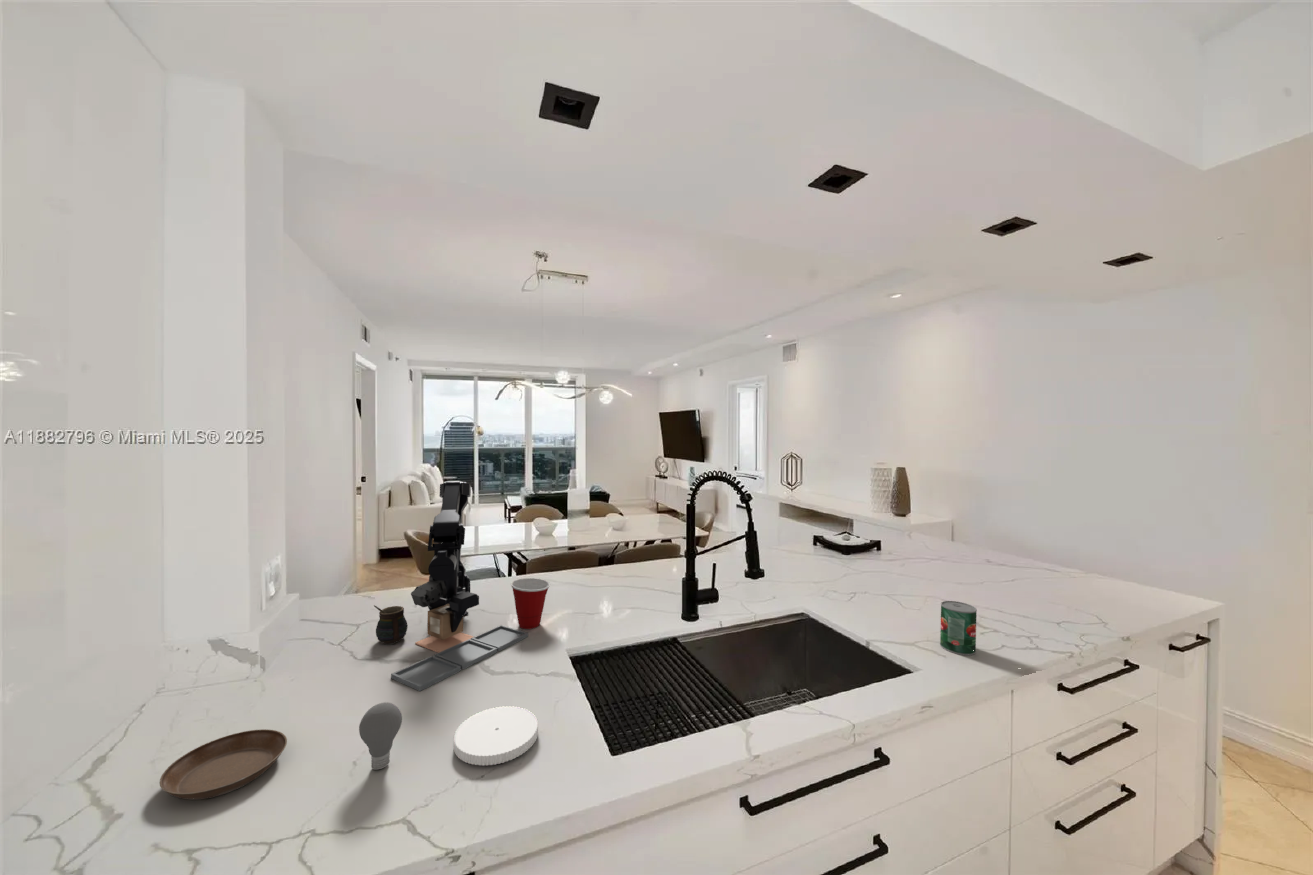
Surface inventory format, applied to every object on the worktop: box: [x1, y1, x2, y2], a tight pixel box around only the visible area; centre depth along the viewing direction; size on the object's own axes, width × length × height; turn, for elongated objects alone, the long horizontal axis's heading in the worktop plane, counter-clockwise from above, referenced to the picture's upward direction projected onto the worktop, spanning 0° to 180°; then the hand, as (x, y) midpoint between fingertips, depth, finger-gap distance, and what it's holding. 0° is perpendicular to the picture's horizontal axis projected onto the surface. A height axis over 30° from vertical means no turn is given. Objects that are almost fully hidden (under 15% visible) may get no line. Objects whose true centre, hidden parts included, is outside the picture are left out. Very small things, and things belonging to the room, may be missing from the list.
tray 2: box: [433, 639, 498, 671], centre depth 115 cm, size 10×10×1 cm
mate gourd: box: [373, 604, 409, 645], centre depth 122 cm, size 7×8×10 cm
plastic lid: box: [453, 705, 539, 766], centre depth 84 cm, size 14×14×2 cm
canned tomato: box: [939, 600, 978, 656], centre depth 124 cm, size 8×8×11 cm
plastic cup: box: [510, 577, 552, 630], centre depth 134 cm, size 11×11×12 cm
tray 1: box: [390, 655, 462, 692], centre depth 106 cm, size 10×10×1 cm
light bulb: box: [358, 701, 403, 770], centre depth 77 cm, size 6×6×10 cm
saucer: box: [159, 728, 288, 801], centre depth 75 cm, size 15×15×3 cm
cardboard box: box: [426, 604, 464, 640], centre depth 123 cm, size 6×6×6 cm
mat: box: [414, 632, 474, 653], centre depth 123 cm, size 10×10×1 cm
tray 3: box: [471, 624, 529, 652], centre depth 124 cm, size 10×10×1 cm
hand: (445, 629), depth 123 cm, fingers closed on cardboard box, 6 cm apart
